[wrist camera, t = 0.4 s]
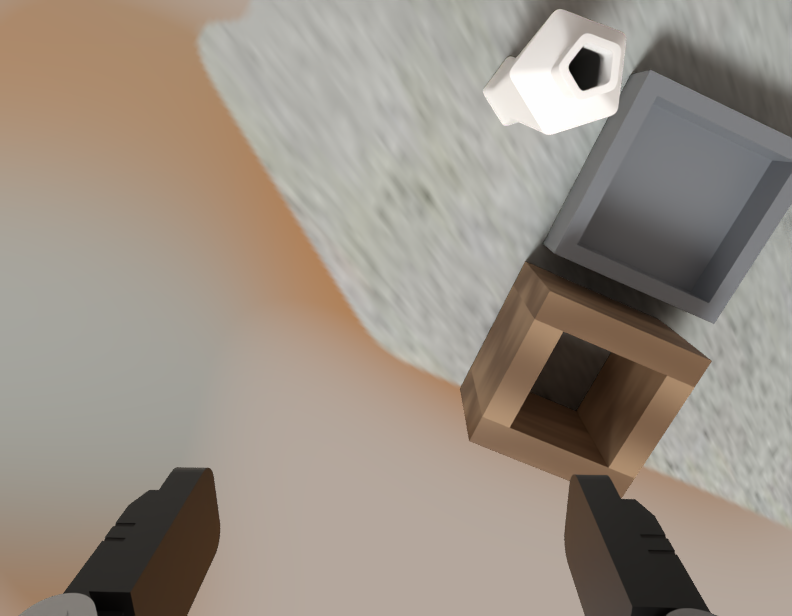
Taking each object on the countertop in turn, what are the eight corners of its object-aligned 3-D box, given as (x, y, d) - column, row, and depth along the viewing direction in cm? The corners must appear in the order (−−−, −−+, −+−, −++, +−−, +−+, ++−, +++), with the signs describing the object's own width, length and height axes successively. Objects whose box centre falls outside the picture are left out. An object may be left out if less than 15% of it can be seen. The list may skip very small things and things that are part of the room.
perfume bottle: (522, 148, 35) (597, 164, 21) (466, 103, 34) (504, 87, 20) (573, 84, 34) (689, 53, 20) (516, 36, 33) (594, -32, 19)
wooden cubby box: (525, 261, 37) (549, 290, 30) (659, 319, 38) (711, 361, 31) (460, 388, 40) (469, 441, 33) (586, 440, 41) (619, 501, 34)
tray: (630, 74, 34) (650, 69, 31) (790, 151, 35) (823, 153, 32) (543, 243, 37) (553, 253, 34) (691, 308, 38) (714, 323, 35)
